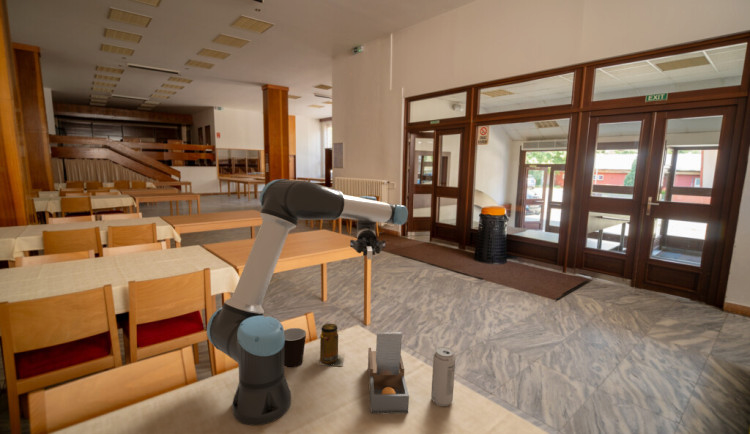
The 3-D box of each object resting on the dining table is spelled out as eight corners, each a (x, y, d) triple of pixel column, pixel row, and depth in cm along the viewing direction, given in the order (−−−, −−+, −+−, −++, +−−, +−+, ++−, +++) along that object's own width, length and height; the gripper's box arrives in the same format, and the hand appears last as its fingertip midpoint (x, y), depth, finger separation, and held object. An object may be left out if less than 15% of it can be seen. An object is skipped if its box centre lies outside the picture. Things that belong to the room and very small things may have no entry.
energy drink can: (436, 391, 103) (439, 343, 101) (455, 399, 99) (459, 350, 97) (427, 401, 98) (430, 352, 96) (447, 410, 94) (450, 359, 92)
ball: (380, 401, 93) (379, 385, 96) (383, 404, 96) (382, 389, 99) (395, 400, 93) (394, 384, 95) (397, 404, 96) (396, 388, 98)
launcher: (369, 391, 101) (370, 369, 100) (367, 368, 113) (368, 347, 112) (403, 391, 102) (404, 368, 101) (398, 368, 114) (399, 347, 113)
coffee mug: (299, 371, 110) (299, 342, 109) (274, 367, 112) (274, 338, 110) (313, 352, 122) (313, 325, 120) (290, 349, 123) (290, 322, 122)
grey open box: (371, 413, 92) (371, 396, 92) (369, 391, 101) (370, 376, 101) (408, 412, 93) (409, 395, 92) (403, 391, 102) (404, 375, 101)
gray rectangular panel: (375, 375, 99) (377, 333, 97) (375, 372, 100) (376, 331, 98) (399, 375, 99) (401, 333, 98) (399, 372, 101) (401, 331, 99)
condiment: (321, 353, 121) (321, 321, 119) (345, 355, 121) (346, 322, 119) (316, 365, 114) (317, 331, 112) (342, 366, 114) (343, 332, 112)
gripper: (383, 249, 132) (390, 267, 109) (349, 248, 132) (348, 266, 108) (384, 230, 131) (391, 243, 108) (350, 229, 131) (349, 243, 107)
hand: (369, 255), depth 108 cm, fingers closed
